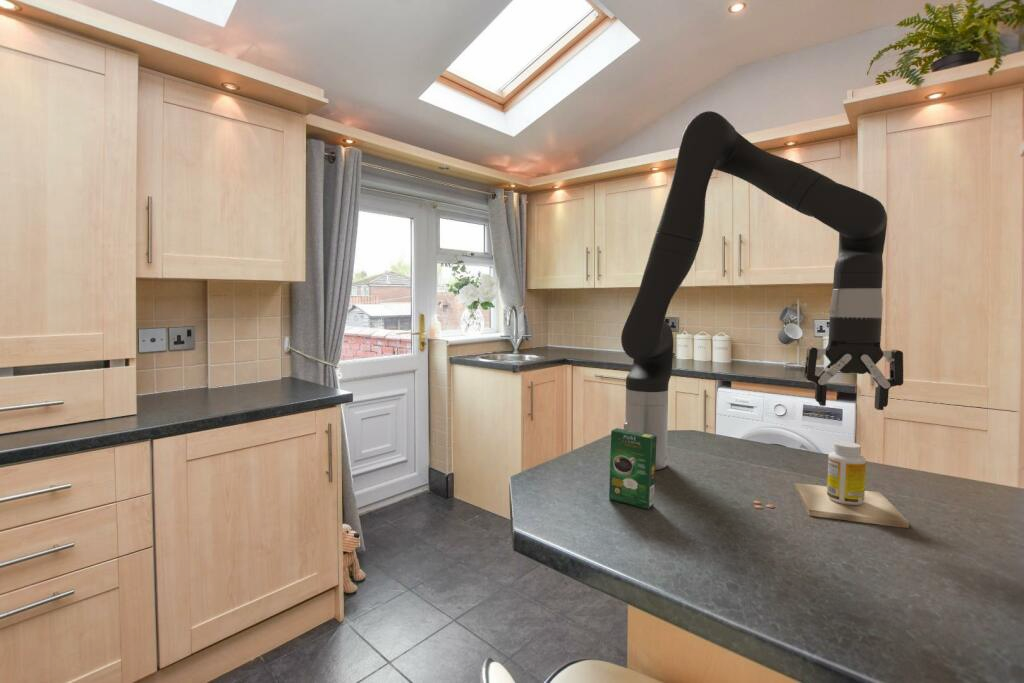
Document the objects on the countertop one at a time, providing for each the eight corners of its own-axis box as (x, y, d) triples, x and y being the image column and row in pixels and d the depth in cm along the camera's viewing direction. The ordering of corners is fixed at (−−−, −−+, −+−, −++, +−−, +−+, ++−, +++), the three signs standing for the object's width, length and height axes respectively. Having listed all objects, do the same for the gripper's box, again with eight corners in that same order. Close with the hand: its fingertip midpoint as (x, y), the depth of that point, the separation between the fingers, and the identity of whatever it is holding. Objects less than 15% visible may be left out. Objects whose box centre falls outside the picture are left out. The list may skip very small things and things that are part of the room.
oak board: (809, 515, 85) (809, 509, 85) (794, 487, 98) (794, 482, 98) (908, 528, 80) (909, 522, 80) (879, 497, 93) (879, 492, 93)
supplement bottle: (868, 501, 89) (871, 444, 88) (858, 509, 85) (861, 450, 84) (832, 492, 93) (835, 438, 92) (821, 499, 89) (824, 443, 89)
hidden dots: (754, 508, 88) (754, 507, 88) (752, 500, 92) (752, 500, 91) (776, 510, 87) (776, 510, 87) (773, 503, 90) (773, 502, 90)
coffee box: (656, 505, 89) (658, 433, 88) (650, 511, 87) (651, 436, 86) (615, 495, 94) (616, 427, 93) (608, 500, 92) (609, 429, 91)
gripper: (812, 315, 86) (808, 408, 87) (913, 316, 81) (907, 415, 82) (804, 314, 93) (800, 400, 94) (896, 315, 88) (891, 406, 89)
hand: (850, 407), depth 88 cm, fingers open, 8 cm apart
